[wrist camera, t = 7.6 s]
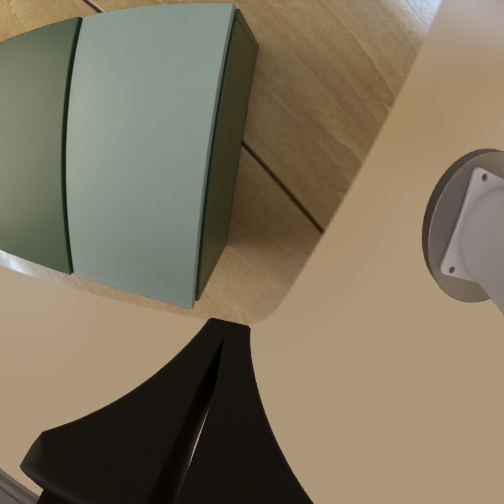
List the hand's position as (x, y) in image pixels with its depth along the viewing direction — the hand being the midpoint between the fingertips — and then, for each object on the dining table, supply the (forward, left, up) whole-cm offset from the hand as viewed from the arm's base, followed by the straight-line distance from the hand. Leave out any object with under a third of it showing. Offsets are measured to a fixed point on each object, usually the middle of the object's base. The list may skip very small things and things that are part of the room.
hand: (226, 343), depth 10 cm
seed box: (+9, -5, -10) cm, 15 cm away
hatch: (+5, -5, -4) cm, 8 cm away
